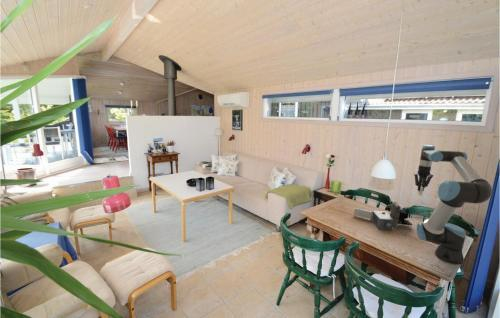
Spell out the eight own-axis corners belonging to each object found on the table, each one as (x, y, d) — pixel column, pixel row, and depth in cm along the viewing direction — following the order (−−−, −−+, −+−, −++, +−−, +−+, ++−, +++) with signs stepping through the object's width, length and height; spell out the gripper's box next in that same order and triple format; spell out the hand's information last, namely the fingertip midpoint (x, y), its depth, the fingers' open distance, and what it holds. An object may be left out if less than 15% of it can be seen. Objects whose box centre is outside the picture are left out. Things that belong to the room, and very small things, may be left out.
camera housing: (393, 231, 197) (395, 220, 195) (379, 229, 199) (380, 218, 197) (384, 220, 215) (386, 210, 213) (371, 219, 217) (372, 209, 215)
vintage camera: (412, 229, 201) (416, 207, 197) (392, 227, 204) (396, 205, 199) (407, 224, 210) (411, 203, 206) (388, 222, 213) (392, 201, 209)
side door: (353, 215, 224) (354, 208, 222) (354, 215, 225) (354, 207, 223) (371, 220, 215) (372, 212, 214) (371, 219, 217) (372, 211, 215)
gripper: (431, 164, 182) (426, 193, 187) (413, 163, 184) (408, 192, 189) (437, 167, 175) (431, 197, 180) (418, 166, 177) (413, 196, 182)
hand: (419, 194), depth 185 cm, fingers closed
